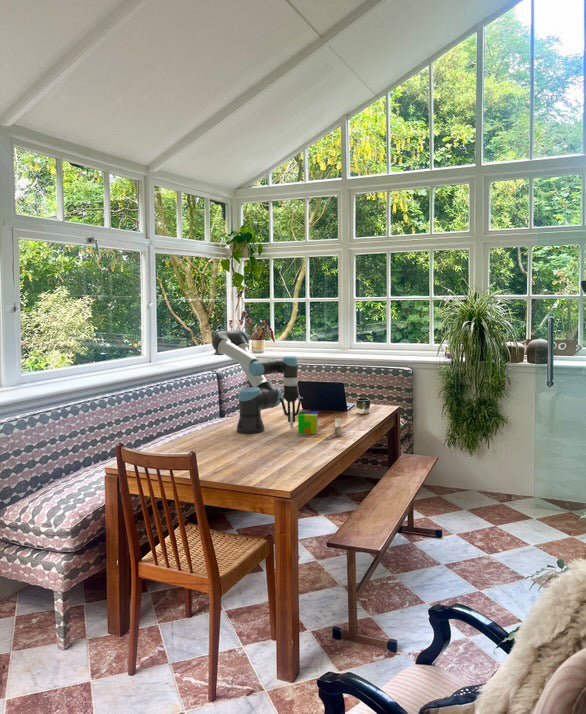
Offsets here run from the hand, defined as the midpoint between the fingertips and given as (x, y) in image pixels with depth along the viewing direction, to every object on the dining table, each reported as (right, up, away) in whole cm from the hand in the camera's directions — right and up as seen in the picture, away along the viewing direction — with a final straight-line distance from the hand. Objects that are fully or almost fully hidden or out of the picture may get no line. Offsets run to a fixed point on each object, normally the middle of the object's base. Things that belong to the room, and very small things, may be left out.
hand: (291, 427), depth 339 cm
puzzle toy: (+9, -2, 0) cm, 9 cm away
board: (+25, -2, -1) cm, 25 cm away
